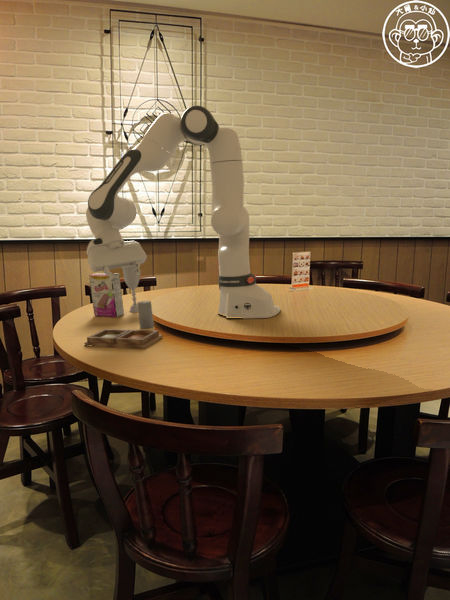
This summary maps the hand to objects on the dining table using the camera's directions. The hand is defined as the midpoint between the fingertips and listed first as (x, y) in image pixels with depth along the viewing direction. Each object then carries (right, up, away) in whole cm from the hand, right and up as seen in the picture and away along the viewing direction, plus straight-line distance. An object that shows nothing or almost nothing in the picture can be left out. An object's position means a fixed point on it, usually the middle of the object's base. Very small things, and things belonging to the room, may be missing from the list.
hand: (126, 276), depth 157 cm
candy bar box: (-11, -14, +22) cm, 28 cm away
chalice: (-2, -13, +26) cm, 29 cm away
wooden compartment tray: (+2, -21, -15) cm, 26 cm away
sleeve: (+8, -19, -6) cm, 21 cm away
